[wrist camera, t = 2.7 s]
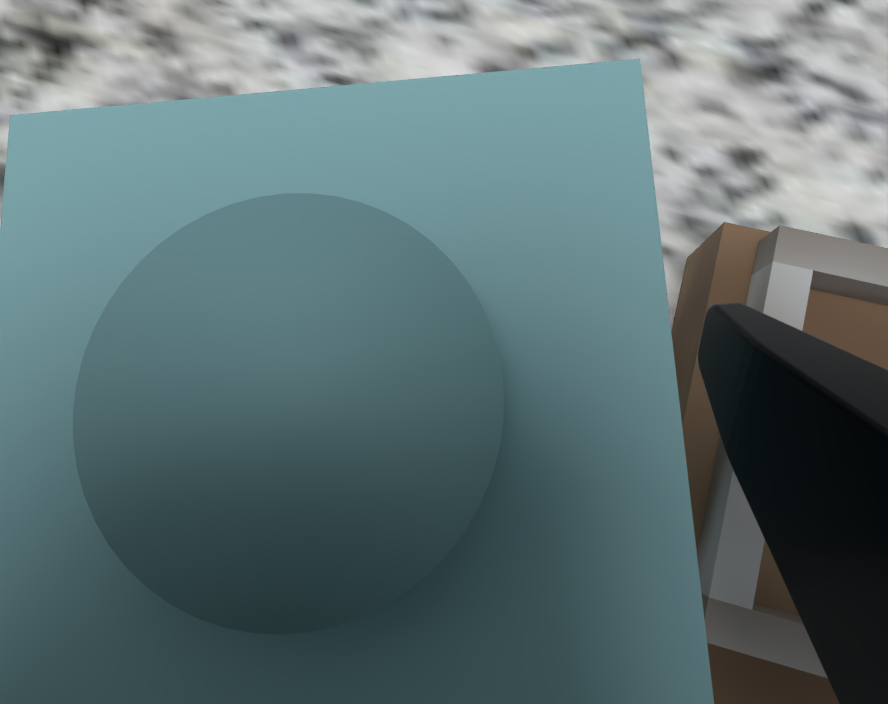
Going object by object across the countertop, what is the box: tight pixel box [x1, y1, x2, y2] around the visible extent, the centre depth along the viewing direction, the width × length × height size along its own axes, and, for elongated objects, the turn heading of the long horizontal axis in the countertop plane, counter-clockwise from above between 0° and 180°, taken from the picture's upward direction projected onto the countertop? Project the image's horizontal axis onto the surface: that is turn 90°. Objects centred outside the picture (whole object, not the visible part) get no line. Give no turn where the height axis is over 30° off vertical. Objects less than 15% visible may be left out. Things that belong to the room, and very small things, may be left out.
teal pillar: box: [0, 59, 714, 704], centre depth 9 cm, size 5×5×12 cm
